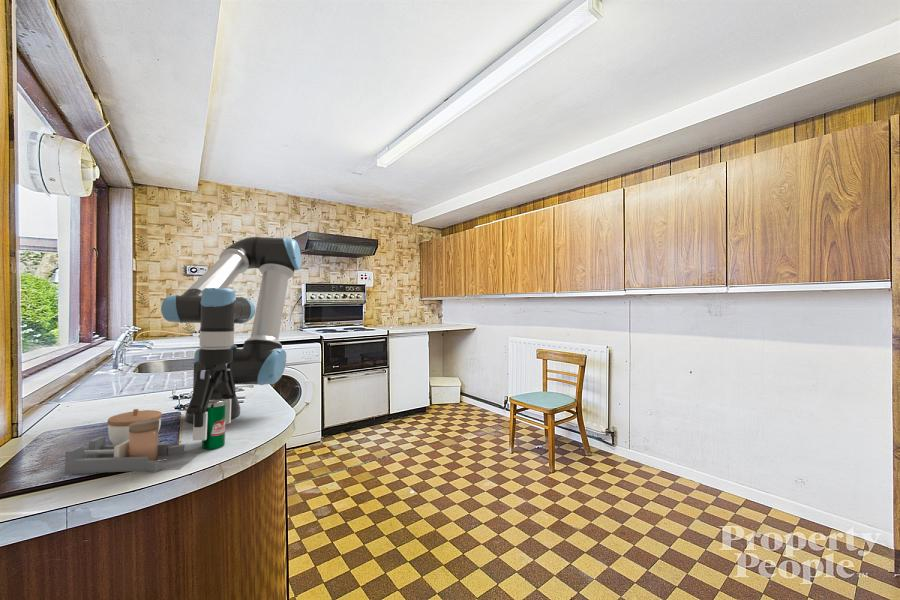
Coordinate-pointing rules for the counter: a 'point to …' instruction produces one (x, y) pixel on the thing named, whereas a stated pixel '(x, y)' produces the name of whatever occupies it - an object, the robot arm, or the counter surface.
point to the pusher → (112, 450)
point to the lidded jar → (120, 423)
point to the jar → (144, 439)
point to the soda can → (215, 425)
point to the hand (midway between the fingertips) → (213, 431)
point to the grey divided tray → (125, 459)
